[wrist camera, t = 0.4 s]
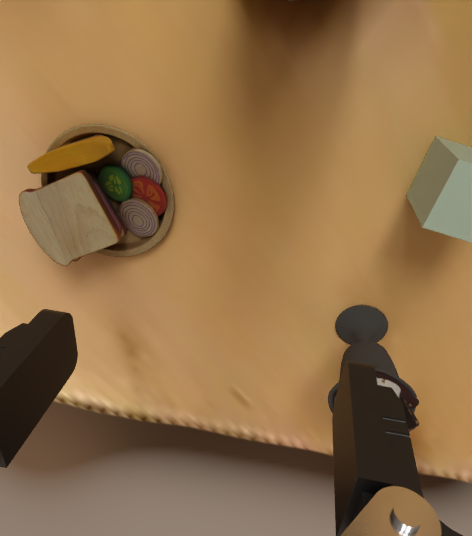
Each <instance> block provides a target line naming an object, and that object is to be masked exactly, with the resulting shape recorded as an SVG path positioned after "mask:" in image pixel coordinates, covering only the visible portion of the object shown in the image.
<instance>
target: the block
mask: <svg viewBox="0 0 472 536" xmlns="http://www.w3.org/2000/svg"><path fill="white" fill-rule="evenodd" d="M406 196H407V198H408V200H409V202H410V204H411V206H412V208H413V210H414V212H415V214H416V216H417V218H418V220H419V222H420V224H421V226H422V228H425V229H429V230H432V231H435V232H439V233H442V234H445V235H448V236H452V237H455V238H458V239H461V240H465V241H468V242H471V243H472V147H470V146H466V145H463V144H460V143H456V142H453V141H450V140H447V139H443V138H440V137H437V136H435V138H434V140H433V142H432V144H431V146H430V148H429V150H428V152H427V154H426V156H425V158H424V160H423V162H422V165H421V167H420V169H419V171H418V173H417V175H416V177H415V179H414V181H413V183H412V185H411V187H410V189H409V191H408V193H407V195H406Z"/></svg>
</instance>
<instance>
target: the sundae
mask: <svg viewBox="0 0 472 536" xmlns="http://www.w3.org/2000/svg"><path fill="white" fill-rule="evenodd" d="M387 329H388V322H387V319H386V317H385V316H384V314H383V313H382V312H380V311H379V310H378V309H376V308H373V307H370V306H363V305H361V306H354V307H351V308H348V309H346V310H345V311H343V312H342V313H341V314H340V315H339V317H338V318H337V321H336V332H337V334H338V335H339V337H340V338H341V339H342V340H343V341H345V342H346V343H348V344H351V346H350V347H348V348H347V350H346V351H345V353H344V355H343V359H342V363H341V371H340V379H341V375H342V371H343V367H344V364H345V362H346V361H353V362H359V363H364V364H370V365H374V367H375V371H376V378H377V384H378V385H380V386H386V387H391V388H392V389H393V390H394V391H395V393H396V394H397V396H398V397H399V399H400V400H401V402H402V403H403V406H404V411H405V416H406V420H407V421H406V424H407V425H408V430H409V432H410V431H411V430H413V429H414V428H415V427H416V426H418V425H419V422H418V420H417V418H416V417H415V415H414V411H415V409H416V406H417V405H418V404H419V400H418V399H417V396H416V394H415V392H414V390H413V389H412V388H411V386H409V385H408V384H407V383H406V382H405V381H403V380H402V379H400V378H399V376H398V373H397V371H396V368H395V366H394V364H393V361H392V360H391V358H390V356H389V354H388V353H387V351H386V350H385V348H384V347H382V346H381V345H380V344H377V342H378V341H380V340H381V339H382V338H383V337H384V335H385V334H386V332H387ZM339 382H340V380H339ZM339 382H338V383H337V384H336V385H335V386H334V387H333V388H332V390H331V391H330V392H329V396H328V403H329V407H330V409H331V411H332V413H333V408H334V402H335V397H336V394H337V390H338V386H339Z"/></svg>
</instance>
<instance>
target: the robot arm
mask: <svg viewBox="0 0 472 536" xmlns="http://www.w3.org/2000/svg"><path fill="white" fill-rule="evenodd" d="M77 357H78V352H77V345H76V338H75V331H74V324H73V318H72V316H71V314H70V313H65V312H59V311H53V310H47V309H44V310H42V311H40V312H39V313H38V314H37V315H36V316H35V317H34V318H33V319H32V321H31V322H30V323H29V324H25V323H22V324H20V325H19V326H17V327H15V328H13V329H11V330H10V331H8V332H6V333H5V334H4V335H3V336H2V337H1V338H0V467H5V468H7V466H8V465H9V463H10V462H11V461H12V459H13V458H14V456H15V455H16V454H17V452H18V451H19V449H20V448H21V446H22V445H23V443H24V442H25V441H26V439H27V438H28V436H29V435H30V433H31V432H32V431H33V429H34V428H35V426H36V425H37V423H38V422H39V420H40V419H41V418H42V416H43V415H44V413H45V412H46V410H47V409H48V408H49V406H50V405H51V403H52V402H53V400H54V399H55V398H56V396H57V395H58V393H59V392H60V390H61V389H62V387H63V386H64V385H65V383H66V382H67V380H68V379H69V377H70V376H71V375H72V373H73V371H74V369H75V366H76V363H77ZM406 421H407V420H406V416H405V411H404V406H403V403H402V402H401V400H400V399H399V397H398V396H397V394H396V393H395V391H394V390H393V389H392V388H391V387H386V386H380V385H378V384H377V378H376V371H375V367H374V365H370V364H364V363H359V362H353V361H346V362H345V364H344V367H343V371H342V375H341V379H340V382H339V386H338V390H337V394H336V397H335V402H334V408H333V455H334V486H335V487H334V488H335V519H336V536H463V535H460V534H459V533H457V532H455V531H453V530H452V529H450V528H449V527H447V526H446V525H445V524H444V523H442V522H441V521H440V520H439V518H438V516H437V514H436V512H435V511H434V509H433V508H432V507H431V505H430V504H429V503H428V502H427V501H426V500H425V499H424V497H423V494H422V491H421V486H420V481H419V476H418V472H417V467H416V462H415V458H414V453H413V448H412V444H411V439H410V438H409V435H410V434H409V430H408V425H407V424H406Z"/></svg>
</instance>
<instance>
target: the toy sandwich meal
mask: <svg viewBox="0 0 472 536" xmlns="http://www.w3.org/2000/svg"><path fill="white" fill-rule="evenodd" d="M28 169H29V171H30V172H31V173H34V174H35V173H41V183H42V187H41V188H38V189H27V190H25V191H23V192H21V193H20V195H19V205H20V210H21V213H22V216H23V219H24V221H25V223H26V225H27V227H28V229H29V231H30V233H31V234H32V236H33V237H34V239H35V240H36V242H37V243H38V244H39V246H40V247H41V248H42V249H43V251H44V252H45V253H46V254H47V255H48V256H49V257H50V258H51V259H52V260H54V261H55V262H56V263H58V264H60V265H63V266H67V265H69V264H70V263H71V262H72V261H78V260H79V259H80V258H81V257H82V256H84V255H87V254H90V253H93V252H98V253H101V254H104V255H109V256H117V257H126V256H134V255H137V254H141V253H143V252H146V251H147V250H149V249H151V248H152V247H154V246H155V245H156V244H157V243H159V242H160V241H161V239H162V238H163V237H164V236H165V234H166V232H167V231H168V229H169V227H170V224H171V221H172V217H173V211H174V197H173V191H172V186H171V183H170V180H169V177H168V175H167V173H166V171H165V169H164V167H163V165H162V164H161V162H160V161H159V160H158V158H157V157H156V156H155V154H154V153H153V152H152V151H151V150H150V149H149V148H148V147H147V146H146V145H145V144H144V143H142V142H141V141H140V140H138V139H137V138H136V137H134V136H132V135H131V134H129V133H127V132H125V131H123V130H120V129H118V128H115V127H111V126H107V125H101V124H87V125H81V126H77V127H74V128H71V129H69V130H67V131H66V132H64V133H62V134H61V135H60V136H59V137H57V138H56V139H55V140H54V142H53V143H52V144H51V145H50V147H49V149H48V150H47V152H46V154H44V155H42V156H41V157H39V158H38V159H36V160H35V161H33V162H31V163H30V164H29V165H28Z"/></svg>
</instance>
